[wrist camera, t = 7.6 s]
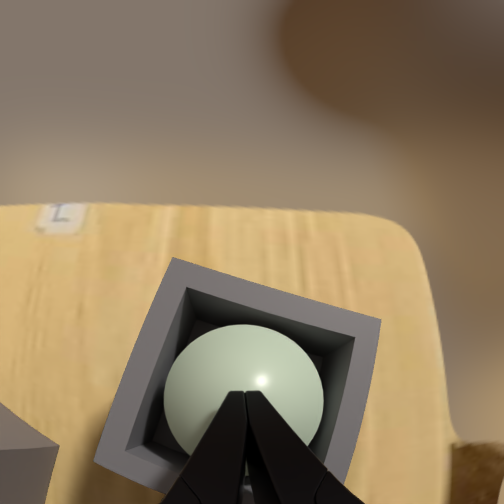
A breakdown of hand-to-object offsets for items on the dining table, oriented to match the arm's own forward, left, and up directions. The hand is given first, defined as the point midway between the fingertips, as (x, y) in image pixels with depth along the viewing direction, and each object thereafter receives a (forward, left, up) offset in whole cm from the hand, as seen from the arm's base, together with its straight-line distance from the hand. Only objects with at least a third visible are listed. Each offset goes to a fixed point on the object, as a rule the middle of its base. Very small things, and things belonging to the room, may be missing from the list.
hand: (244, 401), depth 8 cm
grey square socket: (0, 0, -9) cm, 9 cm away
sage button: (0, 0, -3) cm, 3 cm away
